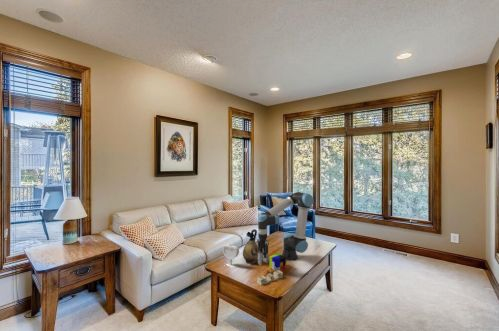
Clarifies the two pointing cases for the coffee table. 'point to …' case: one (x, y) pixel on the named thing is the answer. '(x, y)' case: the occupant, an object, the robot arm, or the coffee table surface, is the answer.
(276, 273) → the cream lumpy bar
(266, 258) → the clip
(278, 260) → the puzzle toy
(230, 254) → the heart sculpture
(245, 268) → the coffee table surface
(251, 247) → the ceramic jug
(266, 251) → the robot arm
